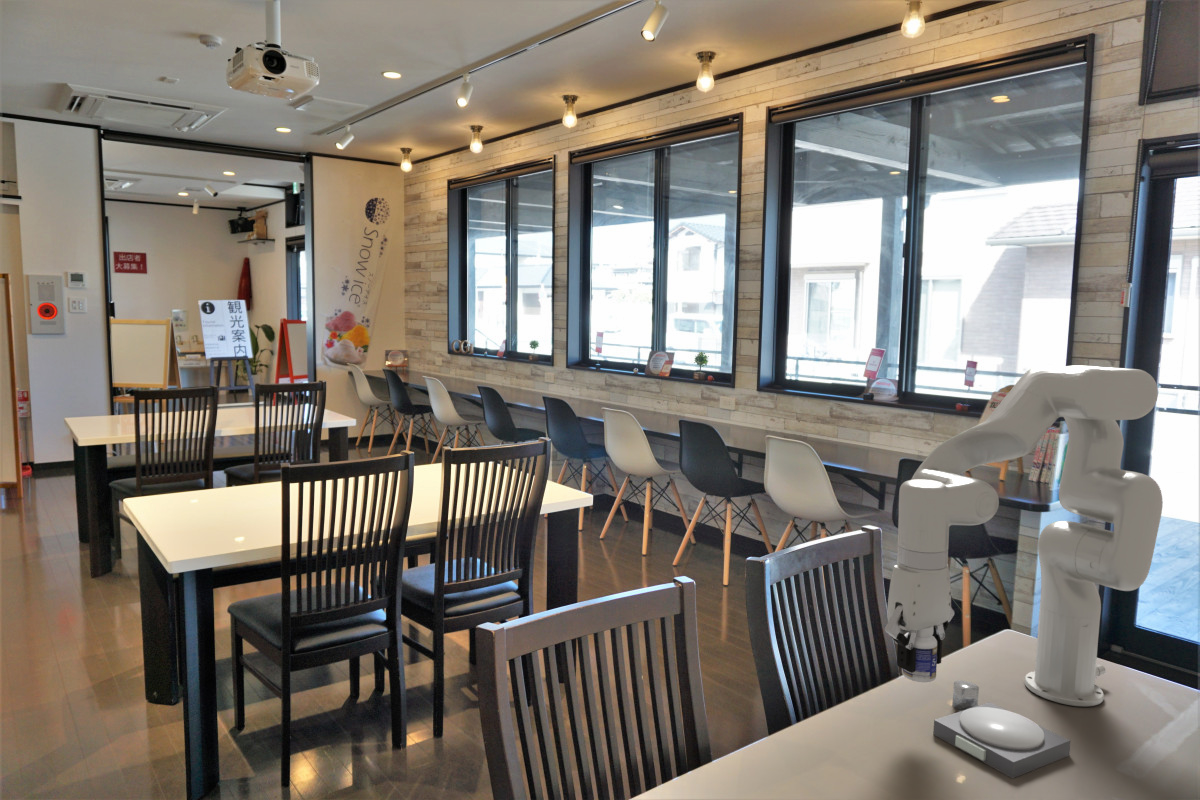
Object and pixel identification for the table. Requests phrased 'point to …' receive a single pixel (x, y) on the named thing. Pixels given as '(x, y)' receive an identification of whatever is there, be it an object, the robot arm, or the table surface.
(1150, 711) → the table surface
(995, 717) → the scale
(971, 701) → the cylinder
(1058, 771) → the table surface
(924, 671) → the pill bottle
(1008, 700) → the table surface
